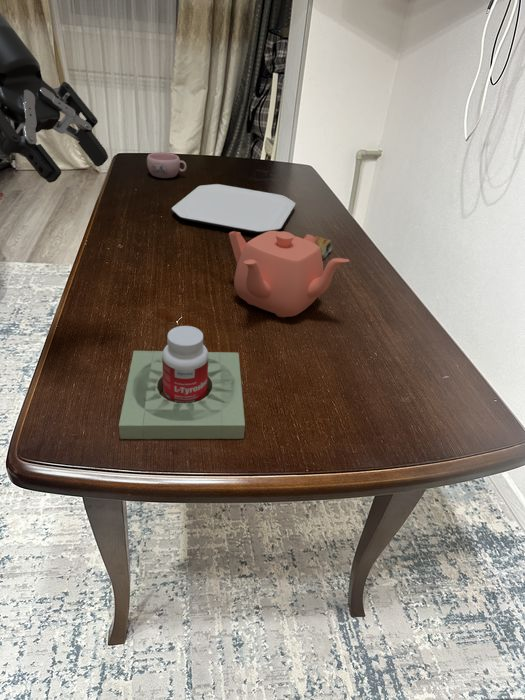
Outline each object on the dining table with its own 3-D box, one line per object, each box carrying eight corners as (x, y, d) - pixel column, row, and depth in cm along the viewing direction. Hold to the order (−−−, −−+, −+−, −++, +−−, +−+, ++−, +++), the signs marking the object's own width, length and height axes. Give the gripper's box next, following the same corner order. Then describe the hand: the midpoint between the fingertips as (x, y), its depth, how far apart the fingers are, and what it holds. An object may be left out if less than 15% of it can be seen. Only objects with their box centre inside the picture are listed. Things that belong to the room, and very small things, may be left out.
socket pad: (120, 439, 63) (118, 425, 62) (134, 363, 76) (133, 350, 74) (243, 438, 65) (245, 425, 64) (237, 365, 78) (238, 352, 76)
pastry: (286, 251, 115) (288, 235, 113) (296, 241, 120) (298, 226, 118) (324, 261, 112) (327, 245, 110) (332, 251, 117) (335, 236, 115)
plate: (298, 205, 142) (299, 197, 140) (275, 242, 118) (276, 233, 117) (203, 188, 146) (203, 181, 144) (164, 221, 123) (163, 212, 121)
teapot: (336, 325, 90) (351, 256, 82) (238, 329, 86) (244, 257, 78) (308, 278, 105) (319, 215, 97) (223, 280, 101) (226, 214, 92)
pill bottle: (171, 418, 67) (170, 353, 61) (157, 390, 71) (154, 327, 65) (213, 406, 70) (216, 342, 63) (197, 380, 74) (198, 318, 67)
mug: (144, 179, 148) (143, 159, 144) (150, 170, 156) (150, 150, 152) (184, 183, 148) (184, 163, 145) (188, 173, 156) (188, 154, 153)
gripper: (-59, 22, 48) (53, 164, 52) (46, 23, 59) (132, 140, 63) (-81, 75, 53) (23, 203, 56) (20, 67, 64) (102, 174, 67)
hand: (81, 169), depth 60 cm, fingers open, 8 cm apart
